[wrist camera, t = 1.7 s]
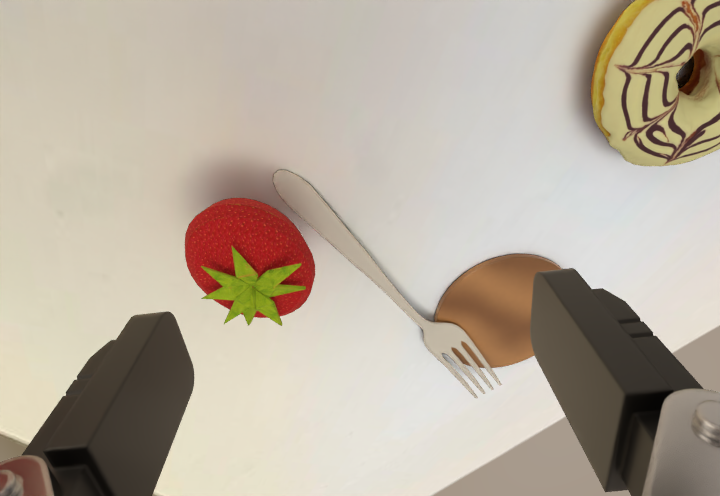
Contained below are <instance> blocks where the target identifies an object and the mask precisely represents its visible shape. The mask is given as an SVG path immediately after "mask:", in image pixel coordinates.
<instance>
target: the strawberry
mask: <svg viewBox="0 0 720 496" xmlns="http://www.w3.org/2000/svg"><path fill="white" fill-rule="evenodd" d="M185 257H186V262H187V267H188V269H189V271H190V273H191V276H192V277H193V279H194V280H195V282H196V283H197V285H198V286H199V287H200V288H201V289H202V290H203V291H204V292H205V293H206V294H207V296H205V297H203V298H201V299H213V300H215V301H216V302H218V303H219V304H221V305H223V306H224V307H226V308H228V309H230V311H229V313H228V316H227V318H226V320H225V322H224V324H225V323H226V322H228V321H230V320H231V319H233V318H234V317H236V316H238V315H239V314H243V315H244V316H245V319H246V321H247V324H248V325H250V323H251V321H252V319H253V317H259V318H265V317H268V318H270V319H271V320H273V321H275V322H276V323H278V324H279V325H281V326H282V322H281V319H280V316H283V315H286V314H289V313H291V312H293V311H295V310H296V309H298V308H300V307H301V306H302V305H303V304H304V302H305V301H306V300H307V298H308V296H309V295H310V292H311V289H312V285H313V281H314V277H315V264H314V260H313V256H312V253H311V251H310V249H309V247H308V245H307V244H306V242H305V240H304V239H303V237H302V235H301V234H300V232H299V231H298V229H297V228H296V226H295V225H294V224H293V223H292V222H291V221H290V220H289V219H288V218H287V217H286V216H285V215H283V214H282V213H281V212H279V211H278V210H277V209H275V208H273V207H271V206H269V205H267V204H264V203H262V202H259V201H256V200H251V199H246V198H231V199H225V200H222V201H219V202H217V203H214V204H213V205H211V206H210V207H208V208H207V209H205V210H204V211H202V212H201V213H200V214H198V215H197V216H196V217H195V218H194V219H193V220H192V222H191V223H190V224H189V226H188V229H187V232H186V236H185Z"/></svg>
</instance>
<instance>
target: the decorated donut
mask: <svg viewBox="0 0 720 496" xmlns="http://www.w3.org/2000/svg"><path fill="white" fill-rule="evenodd" d="M692 56H693V57H694V69H693V72H692V75H691V77H690V79H689V81H688V82H687V83H686V84H685V85H684V86H683V87H681V88H680V89H678V83H677V80H676V75H677V73H678V71H679V70H680V69H681V67H682V66H683V65H684V64H685V63H686V62H687V61H688V60H689V59H690V58H691V57H692ZM591 99H592V106H593V114H594V118H595V121H596V123H597V125H598V127H599V129H600V130H601V131H602V133H603V134H604V135H605V137H606V138H607V140H608V142H609V143H610V146H611V147H613V148H615V149H616V150H618V151H619V152H620V154H621V155H622V156H623V158H624V159H625V160H626V161H628V162H630V163H632V164H635V165H640V166H668V165H677V164H682V163H686V162H689V161H693V160H695V159H697V158H700V157H702V156H705V155H707V154H710V153H712V152H714V151H716V150H718V149H720V0H635V1H634V2H633V3H631V4H630V5H629V6H628V7H627V8H626V9H625V10H624V11H623V12H622V14H621V15H620V16H619V18H618V19H617V21H616V23H615V24H614V26H613V27H612V28H611V30H610V31H609V33H608V34H607V36H606V38H605V40H604V41H603V43H602V45H601V47H600V50H599V52H598V55H597V59H596V62H595V66H594V72H593V76H592V82H591Z"/></svg>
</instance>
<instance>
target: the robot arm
mask: <svg viewBox="0 0 720 496" xmlns="http://www.w3.org/2000/svg"><path fill="white" fill-rule="evenodd" d="M530 338H531V344H532V348H533V352H534V354H535V357H536V359H537V361H538V363H539V365H540V367H541V369H542V371H543V373H544V374H545V376H546V378H547V380H548V382H549V384H550V386H551V388H552V390H553V392H554V394H555V396H556V398H557V400H558V402H559V404H560V405H561V407H562V409H563V411H564V413H565V415H566V417H567V419H568V421H569V423H570V425H571V427H572V429H573V430H574V433H575V434H576V436H577V438H578V440H579V442H580V444H581V446H582V448H583V450H584V452H585V454H586V456H587V458H588V460H589V462H590V463H591V465H592V467H593V469H594V471H595V473H596V475H597V477H598V479H599V481H600V483H601V485H602V487H603V489H604V491H605V492H611V491H622V490H629V492H630V494H631V496H720V393H719V392H716V391H711V390H706V389H703V388H702V387H701V385H700V384H699V383H698V382H697V381H696V380H695V379H694V378H693V376H692V375H691V374H690V373H689V372H688V371H687V370H686V369H685V368H684V366H683V365H682V364H681V363H680V362H679V361H678V360H677V359H676V358H675V356H674V355H673V354H672V353H671V352H670V351H669V350H668V349H667V348H666V346H665V345H664V344H663V343H662V342H661V341H660V340H659V339H658V338H657V336H653V332H652V331H651V330H650V329H649V328H648V326H647V325H646V324H645V323H644V322H641V321H640V318H639V316H638V315H637V314H636V313H635V312H634V311H633V310H632V309H631V308H630V306H629V305H628V304H627V303H626V302H625V301H623V300H622V299H620V298H618V297H616V296H615V295H613V294H611V293H609V292H608V291H606V290H604V289H603V288H602V289H591V288H590V286H589V285H588V284H587V283H586V282H585V280H584V279H583V278H582V277H581V276H580V274H579V273H578V272H577V271H576V270H575V269H573V268H570V269H560V270H551V271H542V272H537V273H536V274H535V276H534V280H533V293H532V307H531V321H530ZM193 386H194V369H193V364H192V361H191V359H190V356H189V353H188V351H187V348H186V345H185V343H184V340H183V337H182V334H181V332H180V329H179V326H178V324H177V321H176V319H175V317H174V315H173V314H172V313H171V312H159V313H150V314H141V315H134V316H133V317H131V319H130V320H129V321H128V323H127V324H126V326H125V327H124V329H123V330H122V332H121V333H120V335H119V336H118V338H117V339H116V340H111V341H110V342H108V343H107V344H106V345H105V346H104V347H102V348H101V349H100V350H99V351H98V352H96V353H95V354H94V355H93V356H92V357H90V359H89V360H88V362H87V363H86V364H85V366H84V367H83V369H82V370H81V371H80V373H79V374H78V376H77V380H74V381H73V383H72V384H71V386H70V387H69V389H68V390H67V391H66V396H63V397H62V399H61V400H60V401H59V403H58V404H57V406H56V407H55V408H54V410H53V411H52V413H51V414H50V416H49V417H48V418H47V420H46V421H45V423H44V424H43V426H42V427H41V428H40V430H39V431H38V433H37V434H36V435H35V437H34V438H33V440H32V441H31V443H30V444H29V445H28V447H27V448H26V450H25V451H24V453H23V454H22V456H18V457H13V458H10V459H7V460H5V461H2V462H0V496H152V494H153V492H154V489H155V487H156V484H157V481H158V479H159V476H160V474H161V471H162V468H163V466H164V463H165V461H166V458H167V456H168V453H169V450H170V448H171V445H172V443H173V440H174V438H175V435H176V432H177V430H178V427H179V425H180V422H181V420H182V417H183V414H184V412H185V409H186V407H187V404H188V401H189V399H190V396H191V394H192V391H193Z"/></svg>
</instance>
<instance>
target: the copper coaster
mask: <svg viewBox="0 0 720 496" xmlns="http://www.w3.org/2000/svg"><path fill="white" fill-rule="evenodd" d="M560 269H561V268H560V267H559V266H558V265H557V264H555V263H554V262H552V261H550V260H548V259H546V258H543V257H540V256H536V255H529V254H512V255H505V256H500V257H496V258H493V259H490V260H487V261H485V262H483V263H481V264H478V265H477V266H475V267H473V268H471V269H470V270H468V271H467V272H465V273H464V274H462V275H461V276H460V277H459V278H458V279H457V280H456V281H454V282H453V284H452V285H451V286H450V287H449V288H448V289H447V291H446V292H445V293H444V295H443V297H442V298H441V300H440V302H439V304H438V307H437V310H436V314H435V322H444V323H452V324H454V325H457V326H459V327H460V328H461V329H463V330H464V332H465V333H466V334H467V335H468V336H469V338H470V339H471V340H472V342H473V343H474V345H475V346H476V347H477V349H478V350H479V352H480V353H481V354H482V356H483V357H484V359H485V360H486V361H487V363H488V364H489V366H490V367H491V368H495V367H503V366H508V365H512V364H515V363H518V362H521V361H523V360H526V359H528V358H530V357H532V356H534V355H535V354H534V352H533V348H532V344H531V338H530V321H531V307H532V293H533V280H534V276H535V274H536V273H537V272H542V271H551V270H560ZM461 345H462V346H463V348H464V349H465V350H466V351H467V353H468V354H469V355H470V357H471V358H472V359H473V360H474V362H475V363H476V364H477V366H478V367H480V368H485V367H484V366H483V364H482V363H481V362H480V360H479V359H478V358H477V356H476V355H475V354H474V352H473V351H472V350H471V348H470V347H469V346H468V345H467V343H465V342H463V341H461ZM451 348H452V351H453V352H454V354H455V355H456V356H457V357H458V358H459V359H460V361H461V362H462V363H463V364H465V365H469V366H471V365H470V364H469V362H468V361H467V360H466V359H465V357H464V356H463V355H462V354H461V353H460V352H459V351H458V350H457V349H456V348H453V347H451Z"/></svg>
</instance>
